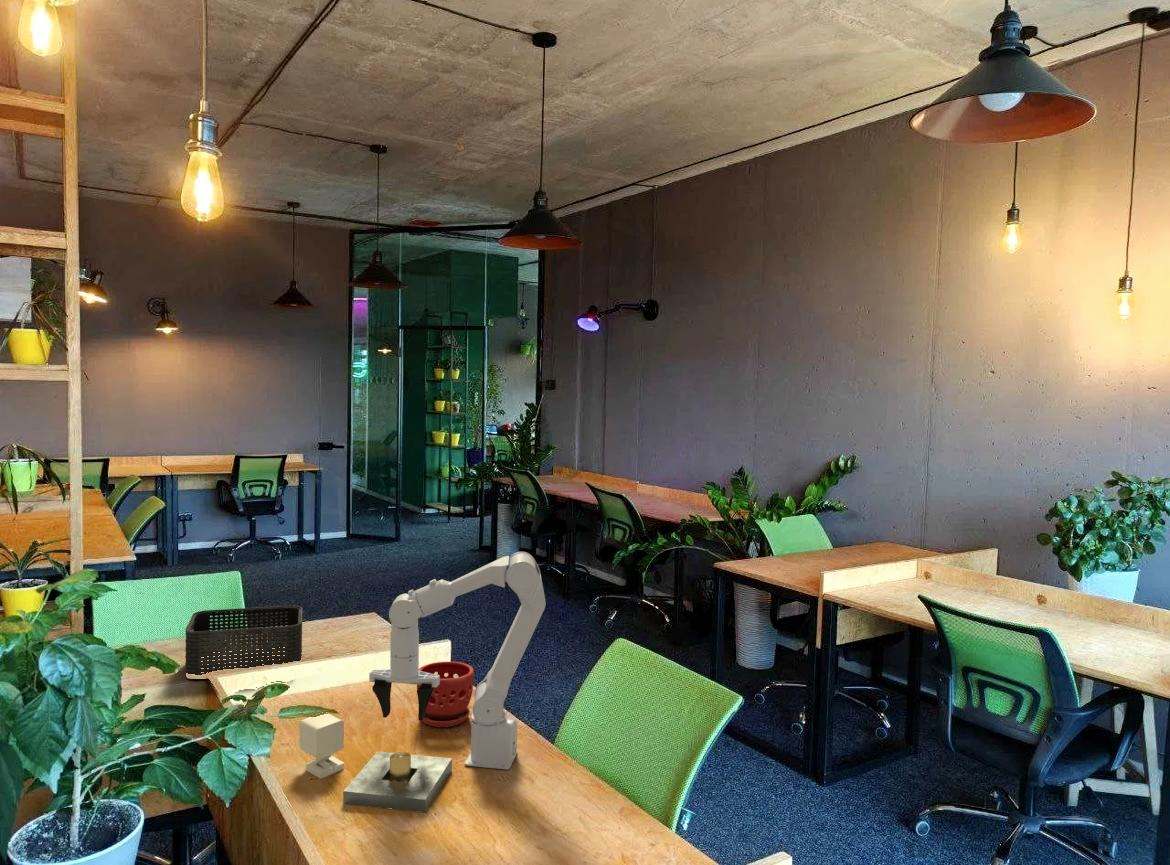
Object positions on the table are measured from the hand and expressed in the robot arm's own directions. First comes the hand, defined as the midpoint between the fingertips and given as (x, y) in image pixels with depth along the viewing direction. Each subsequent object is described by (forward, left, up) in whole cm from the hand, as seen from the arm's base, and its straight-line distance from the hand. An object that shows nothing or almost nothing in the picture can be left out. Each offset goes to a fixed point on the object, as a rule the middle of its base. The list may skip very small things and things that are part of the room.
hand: (404, 717), depth 167 cm
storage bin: (+61, -43, -10) cm, 76 cm away
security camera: (+15, +6, -10) cm, 19 cm away
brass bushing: (-3, +10, -9) cm, 14 cm away
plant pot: (-2, -21, -10) cm, 23 cm away
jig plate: (-3, +10, -9) cm, 14 cm away
